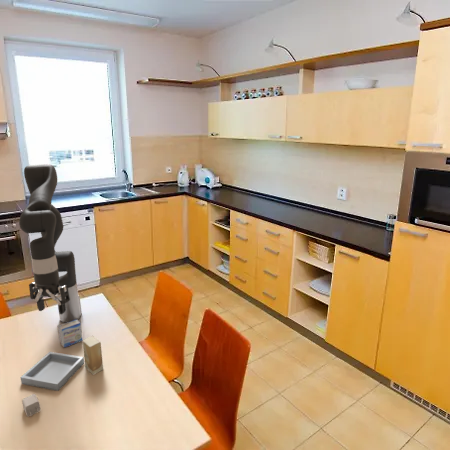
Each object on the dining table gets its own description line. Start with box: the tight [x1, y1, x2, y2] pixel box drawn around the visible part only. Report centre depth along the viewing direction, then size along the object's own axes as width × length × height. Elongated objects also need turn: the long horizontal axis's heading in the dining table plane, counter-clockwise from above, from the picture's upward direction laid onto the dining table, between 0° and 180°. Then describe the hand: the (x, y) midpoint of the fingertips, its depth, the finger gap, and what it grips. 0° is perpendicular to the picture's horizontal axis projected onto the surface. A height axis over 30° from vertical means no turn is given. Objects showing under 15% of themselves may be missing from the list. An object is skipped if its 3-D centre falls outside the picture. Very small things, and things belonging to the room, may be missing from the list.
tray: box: [20, 351, 85, 392], centre depth 130 cm, size 15×15×3 cm
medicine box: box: [57, 319, 84, 348], centre depth 148 cm, size 8×4×9 cm, turn 131°
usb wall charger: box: [21, 393, 41, 418], centre depth 112 cm, size 4×7×4 cm, turn 41°
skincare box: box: [81, 335, 104, 375], centre depth 131 cm, size 6×4×12 cm
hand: (52, 311), depth 123 cm, fingers open, 8 cm apart
